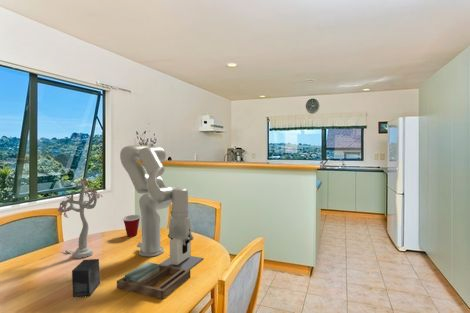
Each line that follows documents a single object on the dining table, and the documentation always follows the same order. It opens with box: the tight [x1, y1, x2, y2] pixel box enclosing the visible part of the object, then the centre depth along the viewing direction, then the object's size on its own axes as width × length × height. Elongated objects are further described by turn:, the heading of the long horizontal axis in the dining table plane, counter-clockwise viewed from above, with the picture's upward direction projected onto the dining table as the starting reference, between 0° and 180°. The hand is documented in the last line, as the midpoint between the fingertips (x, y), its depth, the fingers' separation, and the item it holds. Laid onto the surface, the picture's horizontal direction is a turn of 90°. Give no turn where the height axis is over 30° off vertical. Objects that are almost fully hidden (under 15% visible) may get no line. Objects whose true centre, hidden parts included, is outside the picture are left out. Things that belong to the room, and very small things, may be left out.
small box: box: [71, 258, 101, 298], centre depth 112 cm, size 11×6×10 cm, turn 5°
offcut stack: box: [124, 261, 160, 284], centre depth 121 cm, size 7×14×4 cm, turn 158°
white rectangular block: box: [169, 237, 192, 265], centre depth 138 cm, size 4×12×11 cm, turn 158°
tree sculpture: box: [57, 177, 103, 259], centre depth 149 cm, size 28×24×40 cm
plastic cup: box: [121, 214, 141, 238], centre depth 181 cm, size 11×11×12 cm
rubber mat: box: [158, 255, 204, 271], centre depth 138 cm, size 16×16×1 cm
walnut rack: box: [116, 265, 191, 300], centre depth 119 cm, size 22×19×3 cm
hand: (180, 251), depth 138 cm, fingers closed on white rectangular block, 3 cm apart
